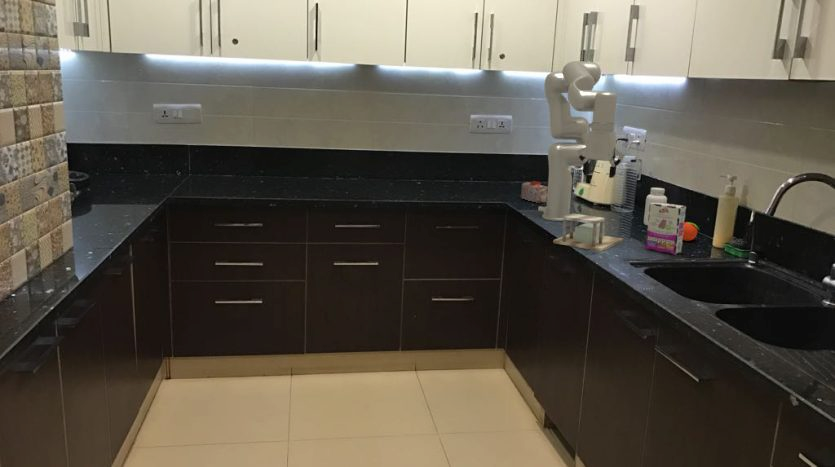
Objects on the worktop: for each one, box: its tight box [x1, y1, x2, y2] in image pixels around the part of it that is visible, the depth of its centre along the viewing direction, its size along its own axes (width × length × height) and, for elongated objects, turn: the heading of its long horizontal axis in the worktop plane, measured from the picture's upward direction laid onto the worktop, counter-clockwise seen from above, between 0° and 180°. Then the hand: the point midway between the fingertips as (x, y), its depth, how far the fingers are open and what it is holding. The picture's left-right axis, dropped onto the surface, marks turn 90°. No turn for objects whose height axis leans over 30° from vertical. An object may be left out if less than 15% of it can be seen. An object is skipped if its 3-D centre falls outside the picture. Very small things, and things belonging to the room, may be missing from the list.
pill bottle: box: [643, 187, 668, 226], centre depth 283 cm, size 8×8×15 cm
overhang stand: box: [552, 213, 624, 252], centre depth 250 cm, size 18×20×10 cm
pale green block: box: [574, 223, 605, 243], centre depth 251 cm, size 6×13×5 cm, turn 144°
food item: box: [520, 180, 548, 204], centre depth 329 cm, size 14×8×10 cm, turn 31°
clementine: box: [683, 221, 700, 242], centre depth 257 cm, size 8×7×7 cm
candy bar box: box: [645, 202, 687, 256], centre depth 240 cm, size 11×5×16 cm, turn 45°
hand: (598, 175), depth 251 cm, fingers open, 9 cm apart
